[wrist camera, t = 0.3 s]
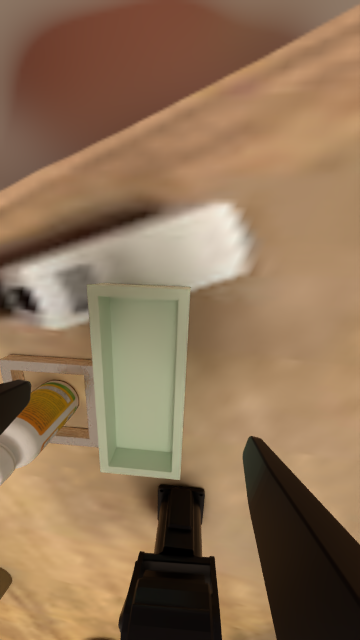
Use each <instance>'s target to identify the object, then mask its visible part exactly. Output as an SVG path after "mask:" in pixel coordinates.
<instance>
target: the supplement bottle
mask: <svg viewBox="0 0 360 640" xmlns="http://www.w3.org/2000/svg"><path fill="white" fill-rule="evenodd" d="M78 403H79V401H78V396H77V394H76V392H75V391H74V389H73V388H72V387H71V386H70V385H68V384H67V383H65V382H62V381H49V382H46V383H44V384H43V385H41V386H40V387H39V388H37V389H36V390H35V391H33V392H32V393H31V395H30V402H29V403H28V405H27V406H26V407H25V409H24V410H23V411H22V412H21V413H20V414H19V415H18V416H17V417H16V419H15V420H14V421H13V422H12V423H11V424H10V425H9V426H8V427H7V429H6V430H5V431H4V432H3V433H2V434H1V435H0V486H1V485H2V484H3V482H4V481H5V480H6V479H7V478H8V477H9V476H10V475H11V474H12V473H13V471H14V469H15V468H20V467H23V466H25V465H27V464H29V463H30V462H32V461H33V460H34V459H35V458H36V457H37V456H38V454H39V453H40V452H41V451H42V450H43V449H44V447H45V446H46V445H47V444H48V443H49V442H50V440H51V439H52V438H53V437H54V436H55V435H56V433H57V432H58V431H59V430H60V429H61V428H62V426H63V425H64V424H65V423H66V422H67V421H68V420H69V418H70V417H71V416H72V415H73V414H74V412H75V411H76V409H77V407H78Z"/></svg>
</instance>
